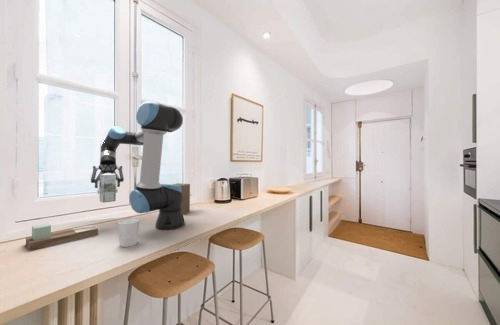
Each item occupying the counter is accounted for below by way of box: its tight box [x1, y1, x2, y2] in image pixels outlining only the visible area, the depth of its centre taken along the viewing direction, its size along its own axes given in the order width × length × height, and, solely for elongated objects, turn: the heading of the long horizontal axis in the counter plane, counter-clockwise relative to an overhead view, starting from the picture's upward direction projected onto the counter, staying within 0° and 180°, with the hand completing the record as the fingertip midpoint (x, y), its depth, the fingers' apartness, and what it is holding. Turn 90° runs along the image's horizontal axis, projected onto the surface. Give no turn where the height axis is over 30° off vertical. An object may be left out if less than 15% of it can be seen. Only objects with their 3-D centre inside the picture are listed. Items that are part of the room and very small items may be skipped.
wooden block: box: [171, 183, 191, 216], centre depth 145 cm, size 10×10×20 cm
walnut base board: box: [25, 224, 99, 252], centre depth 95 cm, size 10×23×3 cm, turn 143°
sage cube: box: [31, 223, 52, 241], centre depth 89 cm, size 5×5×5 cm
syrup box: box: [99, 173, 117, 203], centre depth 110 cm, size 6×6×14 cm
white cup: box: [117, 218, 140, 248], centre depth 91 cm, size 8×8×10 cm
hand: (107, 191), depth 107 cm, fingers closed on syrup box, 7 cm apart
